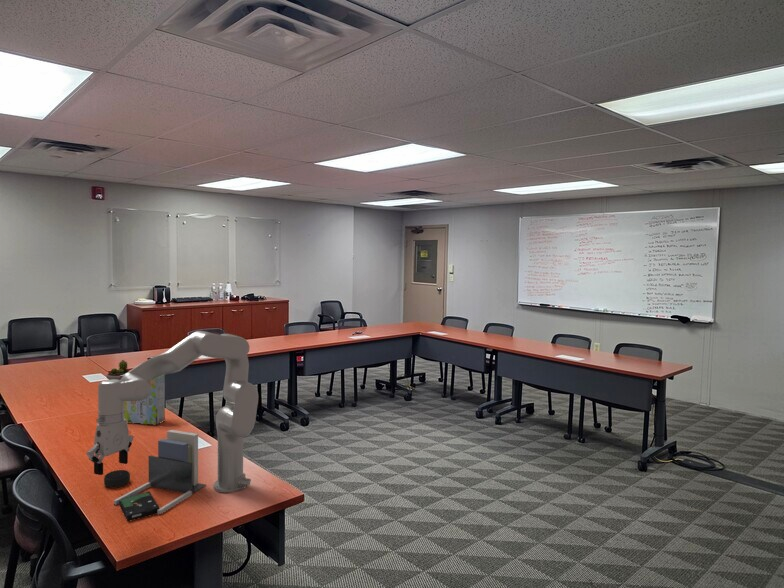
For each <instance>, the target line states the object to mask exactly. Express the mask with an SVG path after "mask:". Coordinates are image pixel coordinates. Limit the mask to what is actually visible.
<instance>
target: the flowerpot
mask: <svg viewBox="0 0 784 588" xmlns="http://www.w3.org/2000/svg"><path fill="white" fill-rule="evenodd" d="M117 364H118V366H117V367H118V368H115V367H114V368H111V369H110V371H109V372H108V373H107V374H106V380H111V379H118V380H120V375H124V374H126V373H127V372H129V371H130V370H128V368H129V366H128V361H126V360H125V359H121V360H120V361H119V362H118V363H117Z"/></svg>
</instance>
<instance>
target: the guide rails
mask: <svg viewBox="0 0 784 588" xmlns="http://www.w3.org/2000/svg"><path fill="white" fill-rule="evenodd" d="M150 487H151V483H149V481H148V482H146V483H144V484H142V485H140V486H138V487H136V488H134V489H133V490H131V491H128V492H127V493H124V494H123V495H122V496H119V497H118V498H116V499H113V505H114V504H115V505H114V506H118V505H119V500H121V498H122V499H123V498H127V497H131V496H134V495H137V494H140V493H141V492H143V491H145V490H147V489H149V488H150ZM151 488H152V487H151ZM192 495H193V494H192V491H188V492H186V493H182V494H181V495H180V496H178V497H176V498H175V499H172V500H171V501H170V502H168V503H167V504H165V505H163V506H162V507H159V509H158V510H157V514H156V515H159V514H161V513H162V514H164V513H166V512H167V511H169V510H170V509H172V508H173V507H175V506H176V504H177V505H178V504H180V503H182V502H183V501H184V499H185V500H187V499H188V498H189V497H191V496H192ZM179 502H180V503H179ZM171 507H172V508H171ZM168 509H169V510H168ZM166 510H167V511H166ZM163 512H164V513H163ZM162 514H161V515H162Z"/></svg>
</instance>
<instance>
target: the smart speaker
mask: <svg viewBox="0 0 784 588" xmlns="http://www.w3.org/2000/svg"><path fill="white" fill-rule="evenodd" d="M130 473H131V472H130V471H129V470H126V469H118V470H117V469H116V470H113V471H110V472H108V473H107V474H105V475H104V477H103V482H104V483H103V484H104V486H105V487H106V488H111V489H112V488H121V487H123V486H126V485H127V484H129V482H130V481H131V478H130V477H131V474H130Z"/></svg>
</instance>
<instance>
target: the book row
mask: <svg viewBox="0 0 784 588" xmlns="http://www.w3.org/2000/svg"><path fill="white" fill-rule="evenodd" d="M157 455H158V456H157V457H161V458H167V459H173V460H178V461H184V462H189V463H192V486H195V485H197V484H198V483H199V434H198V433H194V432H188V431H184V430H183V431H182V430H176V429H170V430H167V431H166V439H165V438H161V439H159V440H158V441H157Z"/></svg>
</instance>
